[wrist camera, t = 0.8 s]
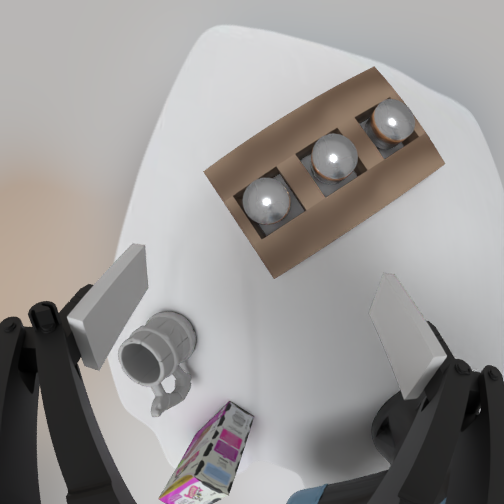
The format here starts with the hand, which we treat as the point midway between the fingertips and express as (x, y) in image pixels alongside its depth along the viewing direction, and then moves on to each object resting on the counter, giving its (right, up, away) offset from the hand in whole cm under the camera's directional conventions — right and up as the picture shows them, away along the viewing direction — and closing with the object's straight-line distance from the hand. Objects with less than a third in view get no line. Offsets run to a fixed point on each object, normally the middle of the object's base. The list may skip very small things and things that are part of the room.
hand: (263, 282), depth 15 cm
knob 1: (+1, +7, +16) cm, 18 cm away
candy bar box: (-5, -26, +25) cm, 36 cm away
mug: (-11, -12, +24) cm, 29 cm away
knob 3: (+15, +16, +13) cm, 25 cm away
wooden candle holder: (+9, +12, +18) cm, 23 cm away
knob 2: (+8, +11, +15) cm, 20 cm away
